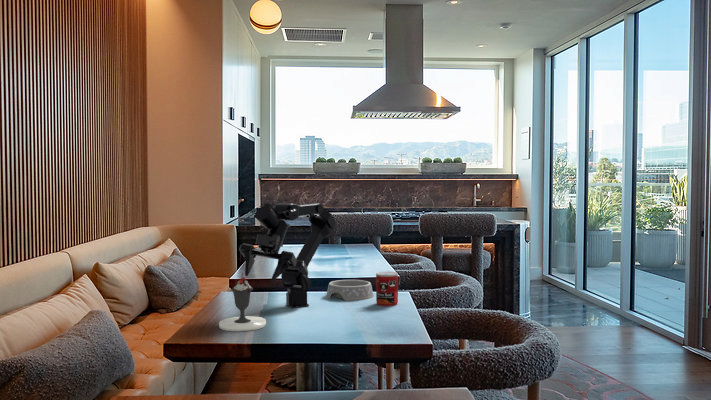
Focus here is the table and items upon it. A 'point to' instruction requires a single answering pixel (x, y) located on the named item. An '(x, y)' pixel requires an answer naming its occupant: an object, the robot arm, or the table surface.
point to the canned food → (387, 288)
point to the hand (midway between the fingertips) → (258, 278)
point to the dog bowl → (350, 290)
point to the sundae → (242, 298)
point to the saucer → (242, 324)
